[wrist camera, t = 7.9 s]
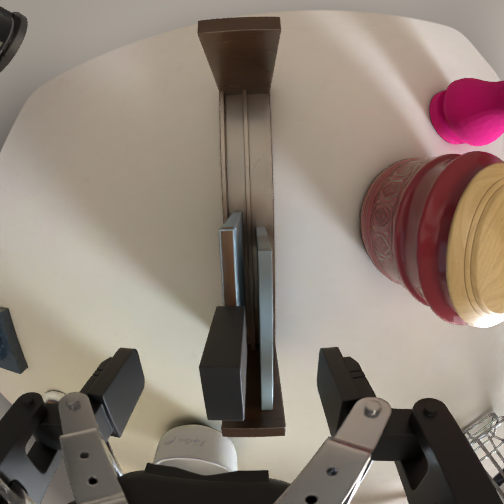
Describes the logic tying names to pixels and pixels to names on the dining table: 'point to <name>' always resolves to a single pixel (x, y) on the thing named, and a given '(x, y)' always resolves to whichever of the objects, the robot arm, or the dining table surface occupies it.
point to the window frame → (250, 198)
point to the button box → (10, 345)
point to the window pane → (227, 333)
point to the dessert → (52, 397)
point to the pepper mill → (469, 112)
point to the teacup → (196, 450)
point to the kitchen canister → (441, 233)
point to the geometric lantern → (492, 444)
